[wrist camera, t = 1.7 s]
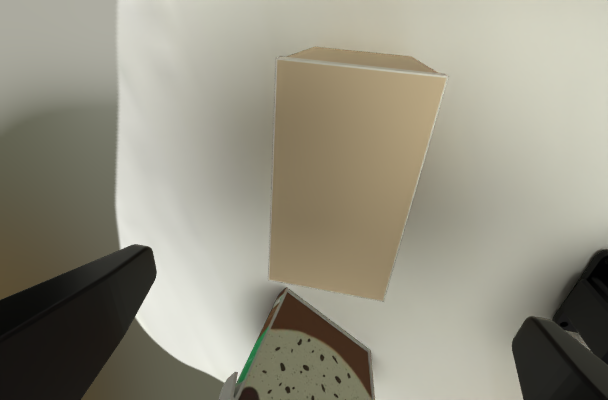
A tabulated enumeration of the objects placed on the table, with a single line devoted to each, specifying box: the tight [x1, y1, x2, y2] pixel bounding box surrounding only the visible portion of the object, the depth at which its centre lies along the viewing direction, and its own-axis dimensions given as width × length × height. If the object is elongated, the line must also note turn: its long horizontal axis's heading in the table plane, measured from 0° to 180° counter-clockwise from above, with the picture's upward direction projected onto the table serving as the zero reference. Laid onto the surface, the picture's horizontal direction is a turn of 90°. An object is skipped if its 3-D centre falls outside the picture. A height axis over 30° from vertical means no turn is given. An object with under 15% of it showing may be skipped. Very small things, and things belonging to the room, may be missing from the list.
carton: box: [268, 47, 449, 302], centre depth 15 cm, size 5×9×8 cm, turn 176°
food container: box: [219, 287, 375, 400], centre depth 23 cm, size 12×6×10 cm, turn 50°
